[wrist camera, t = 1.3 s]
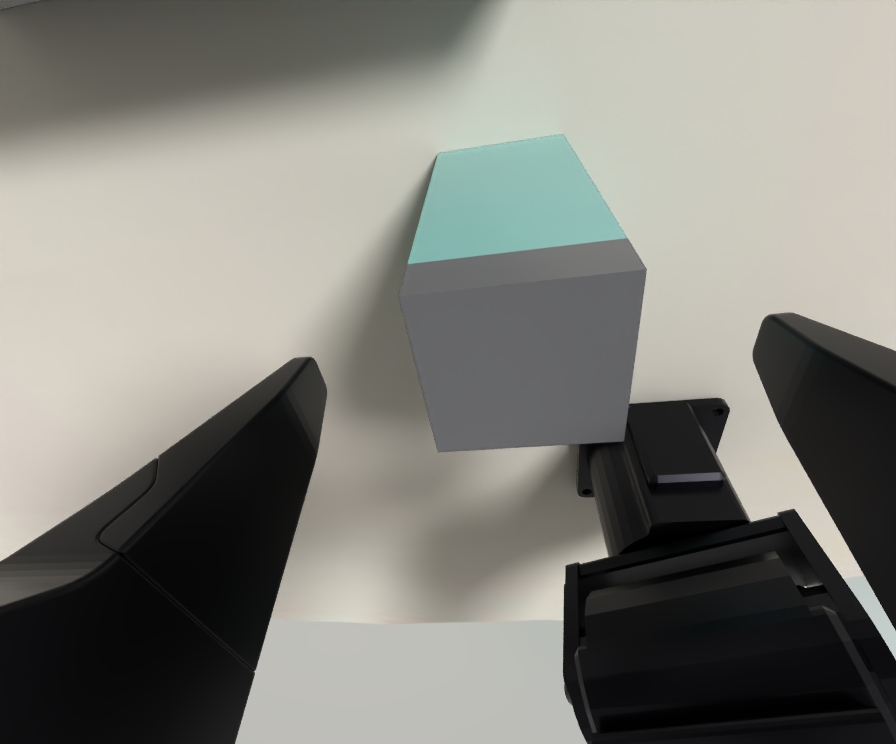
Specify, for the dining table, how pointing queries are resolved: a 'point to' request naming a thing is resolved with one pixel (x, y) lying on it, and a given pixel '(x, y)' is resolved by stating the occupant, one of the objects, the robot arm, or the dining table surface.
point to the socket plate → (14, 3)
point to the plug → (521, 301)
